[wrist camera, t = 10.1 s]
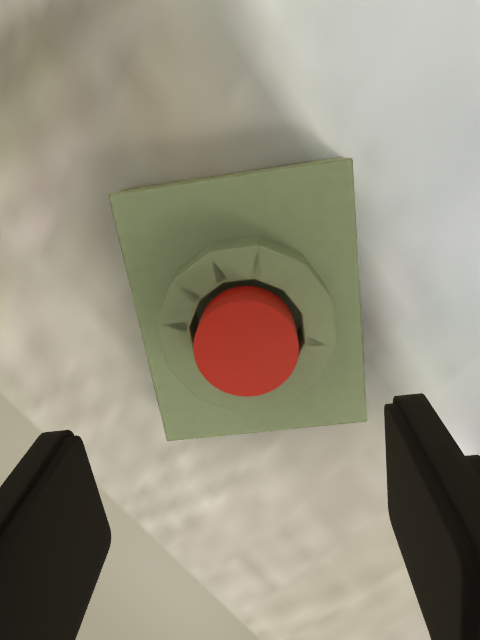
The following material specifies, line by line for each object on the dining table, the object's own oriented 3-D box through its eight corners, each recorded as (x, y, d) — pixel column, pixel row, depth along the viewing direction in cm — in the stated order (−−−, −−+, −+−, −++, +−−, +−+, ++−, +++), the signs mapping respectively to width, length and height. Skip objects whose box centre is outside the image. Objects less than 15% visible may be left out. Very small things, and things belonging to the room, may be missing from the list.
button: (191, 291, 17) (184, 307, 15) (290, 279, 16) (293, 293, 15) (208, 378, 18) (202, 402, 16) (300, 368, 18) (303, 391, 16)
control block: (124, 189, 19) (90, 199, 15) (342, 156, 18) (363, 159, 14) (175, 414, 23) (158, 467, 19) (357, 396, 22) (377, 447, 18)
